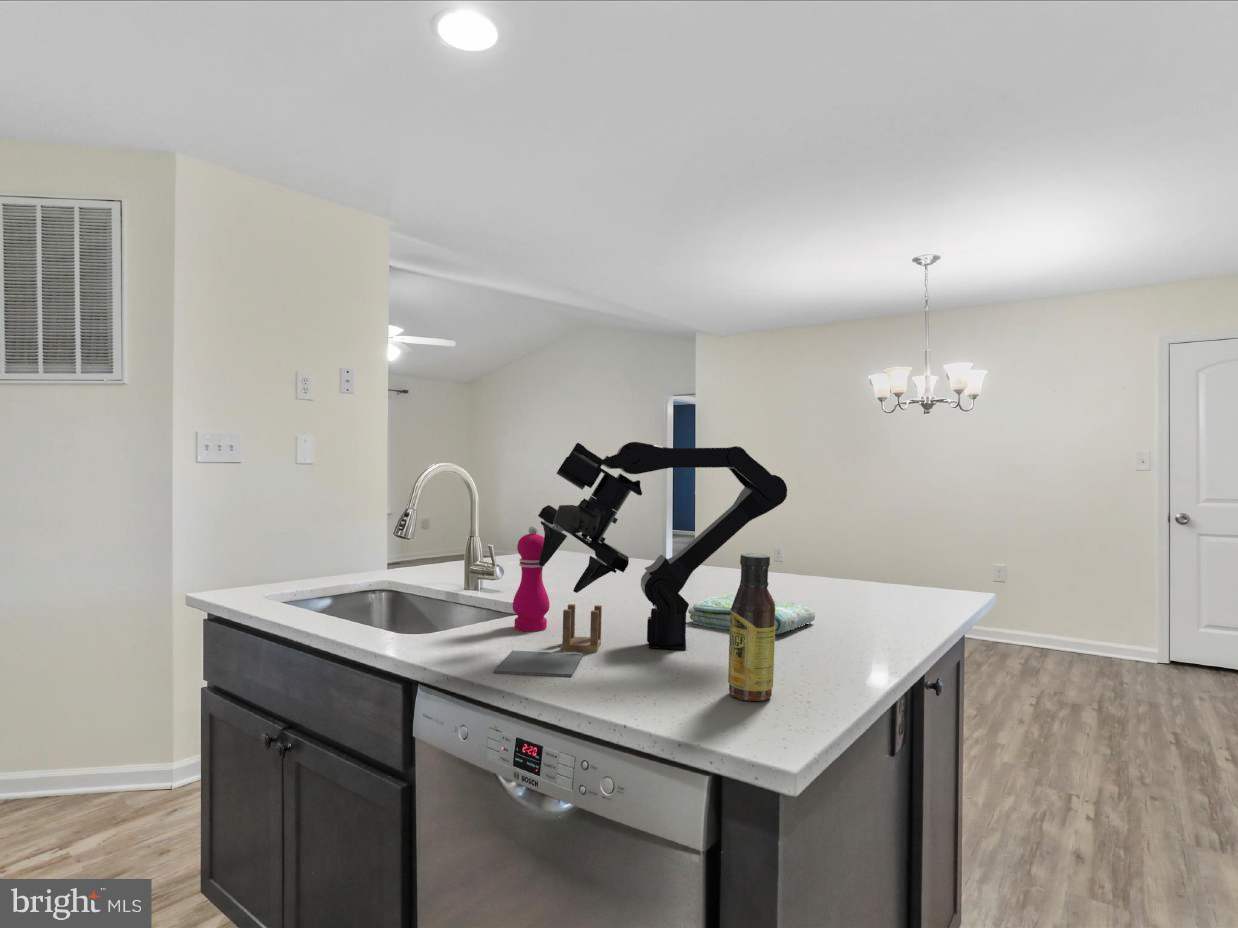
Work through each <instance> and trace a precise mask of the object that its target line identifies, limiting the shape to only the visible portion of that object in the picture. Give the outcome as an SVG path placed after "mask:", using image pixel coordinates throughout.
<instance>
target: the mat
mask: <svg viewBox="0 0 1238 928" xmlns="http://www.w3.org/2000/svg"><path fill="white" fill-rule="evenodd" d="M583 657H584V654H583V653H578V652H577V653H575V652H572V653H571V652H570V653H569V652H557V651H556V652H551V651H534V650H532V651H529V650H512V651H510V653H509V654H508V655H506V657H504V658H503V660H502V661H501V662H500V663H499V664H498V665H497V666H496V667H495V668H494V669H493V674H506V675H507V674H508V675H509V674H510V675H524V676H525V675H527V676H544V677H545V676H547V677H565V678H572V677H573V676H574V673H575V671H576V670H577V668H578V666H579V664H580V662H581V661H582V659H583Z"/></svg>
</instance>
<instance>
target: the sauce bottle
mask: <svg viewBox="0 0 1238 928" xmlns="http://www.w3.org/2000/svg"><path fill="white" fill-rule="evenodd" d="M739 559H740V560H739V563H740V567H741V568H740V581H739V586H738V588H737V591H736V594H735V595H734V596H735V599H734V602H733V605H732V607H731V614H730V630H729V636H728V637H729V640H728V641H729V646H728V673H727V675H728V676H727V677H728V678H727V682H728V684H729V686H728V691H729V694H730V695H731V696H732V697H734V698H737V699H738V700H741V701H747V702H761V701H762V702H763V701H768V700H770V699H771V697H772V695H773V691H772V690H773V687H774V674H775V673H774V672H775V667H774V666H775V645H776V644H775V643H776V635H775V603H774V601H775V600H774V598H773V596H772V594H771V593H770V591H769V589H768V586H769V567H770V565H771V556H770V555H768V554H766V553H759V552H757V553H756V552H744V553H742V554H740V557H739Z"/></svg>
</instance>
